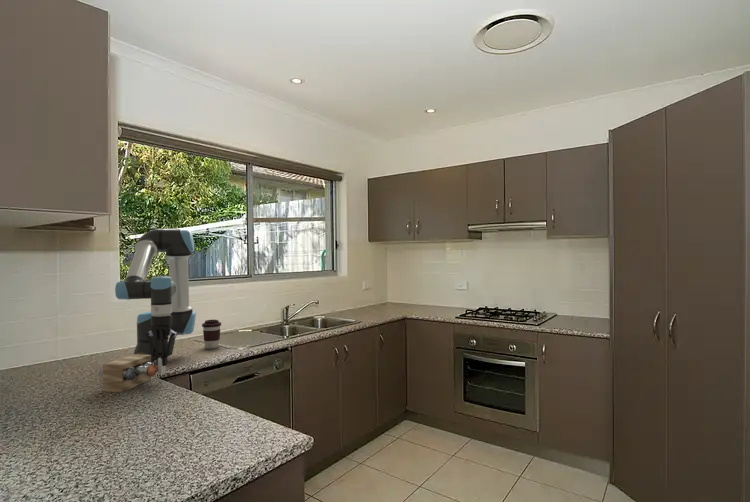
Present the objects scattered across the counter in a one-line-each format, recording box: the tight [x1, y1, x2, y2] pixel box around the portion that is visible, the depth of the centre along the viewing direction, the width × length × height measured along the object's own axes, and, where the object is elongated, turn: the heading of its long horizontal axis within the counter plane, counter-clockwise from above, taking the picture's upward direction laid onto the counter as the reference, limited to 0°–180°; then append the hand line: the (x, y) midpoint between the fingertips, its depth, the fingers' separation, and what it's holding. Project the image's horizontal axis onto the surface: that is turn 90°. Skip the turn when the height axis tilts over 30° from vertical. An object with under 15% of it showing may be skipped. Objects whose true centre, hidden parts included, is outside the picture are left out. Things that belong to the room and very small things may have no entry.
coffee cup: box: [201, 319, 222, 350], centre depth 232 cm, size 10×10×15 cm
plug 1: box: [97, 368, 136, 380], centre depth 159 cm, size 5×13×5 cm, turn 81°
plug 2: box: [143, 360, 158, 373], centre depth 169 cm, size 5×13×5 cm, turn 81°
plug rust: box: [133, 364, 158, 378], centre depth 164 cm, size 5×13×5 cm, turn 81°
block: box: [102, 354, 152, 393], centre depth 164 cm, size 16×8×10 cm, turn 171°
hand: (161, 373), depth 168 cm, fingers closed
